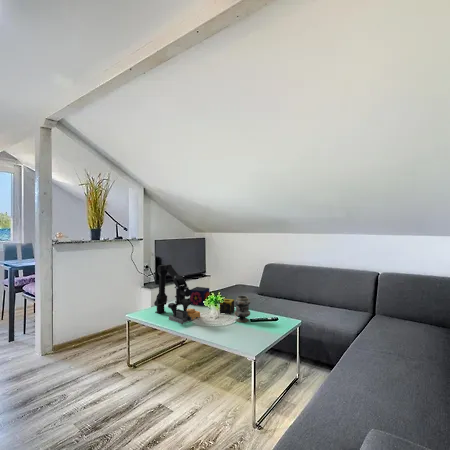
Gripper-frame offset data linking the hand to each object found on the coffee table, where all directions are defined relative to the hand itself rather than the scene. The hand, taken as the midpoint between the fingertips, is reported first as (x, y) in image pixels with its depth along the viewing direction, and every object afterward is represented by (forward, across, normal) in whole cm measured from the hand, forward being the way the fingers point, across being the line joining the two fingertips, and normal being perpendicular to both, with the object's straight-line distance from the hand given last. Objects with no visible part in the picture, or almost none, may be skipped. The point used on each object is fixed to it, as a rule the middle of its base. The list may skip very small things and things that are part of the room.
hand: (180, 315), depth 229 cm
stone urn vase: (+4, +30, -37) cm, 48 cm away
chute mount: (+4, 0, 0) cm, 4 cm away
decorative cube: (+4, +42, +23) cm, 48 cm away
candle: (+4, +38, -14) cm, 41 cm away
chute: (+3, 0, 0) cm, 3 cm away
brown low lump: (+4, +10, 0) cm, 11 cm away
